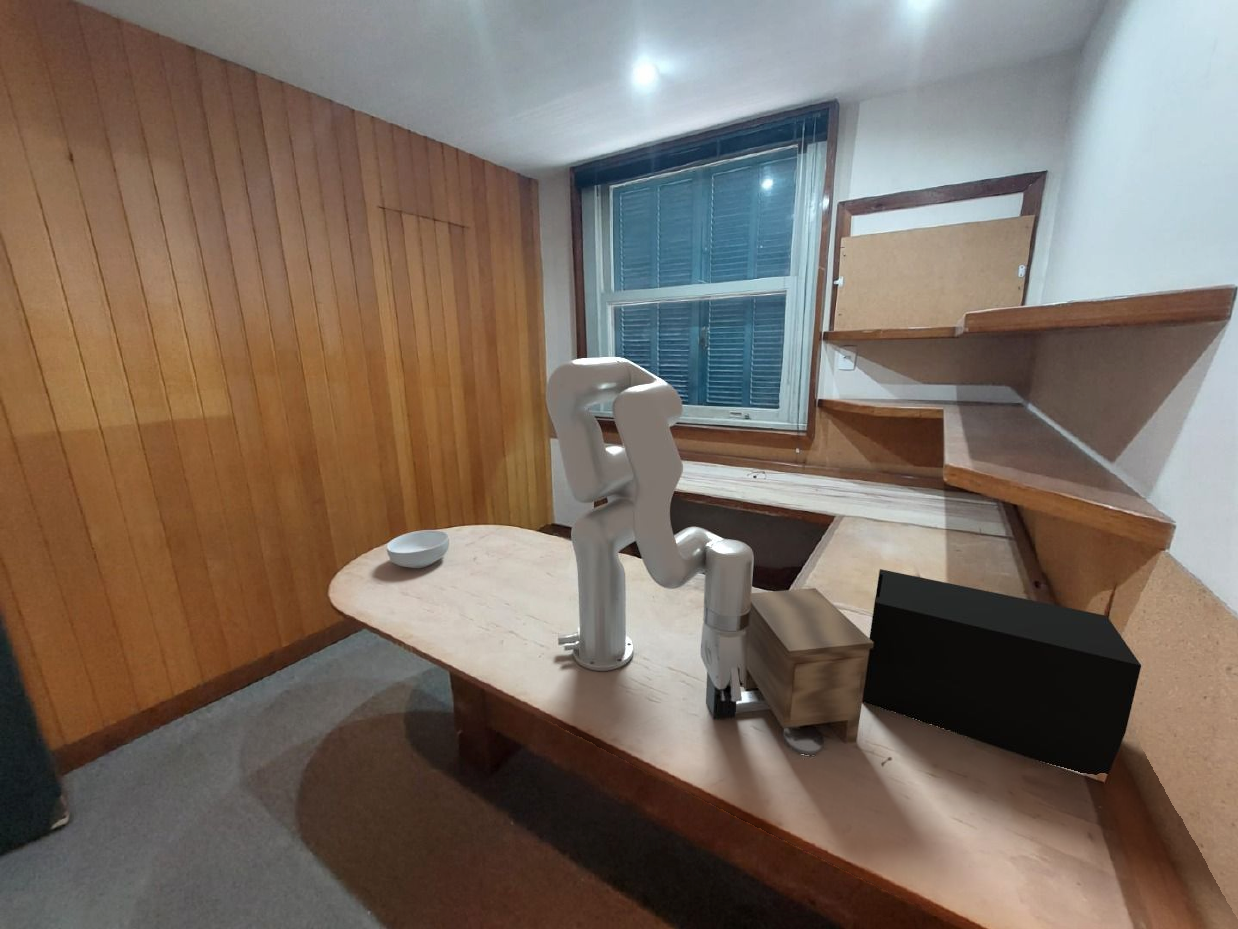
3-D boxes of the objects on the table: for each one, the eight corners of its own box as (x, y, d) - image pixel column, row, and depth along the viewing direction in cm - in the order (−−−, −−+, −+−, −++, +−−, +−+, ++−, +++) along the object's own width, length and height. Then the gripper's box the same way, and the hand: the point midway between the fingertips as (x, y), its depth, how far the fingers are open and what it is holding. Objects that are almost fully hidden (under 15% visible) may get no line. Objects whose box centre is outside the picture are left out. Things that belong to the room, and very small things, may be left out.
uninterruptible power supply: (867, 655, 98) (880, 566, 93) (1088, 719, 81) (1118, 614, 76) (859, 706, 84) (874, 605, 79) (1123, 795, 68) (1162, 675, 62)
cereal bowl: (439, 545, 152) (437, 525, 151) (459, 563, 140) (457, 541, 138) (382, 561, 142) (379, 539, 140) (398, 582, 130) (395, 558, 128)
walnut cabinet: (779, 753, 75) (789, 651, 70) (739, 681, 91) (744, 593, 86) (859, 743, 77) (873, 642, 72) (806, 673, 92) (815, 588, 88)
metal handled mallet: (713, 719, 82) (714, 684, 80) (705, 702, 85) (707, 668, 84) (800, 709, 84) (804, 675, 82) (789, 693, 88) (793, 660, 86)
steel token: (813, 763, 73) (815, 755, 73) (776, 741, 77) (777, 733, 77) (827, 741, 77) (829, 733, 77) (791, 721, 81) (793, 713, 81)
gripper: (690, 590, 87) (687, 676, 91) (721, 646, 71) (716, 747, 75) (730, 587, 88) (725, 672, 92) (769, 642, 71) (761, 742, 76)
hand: (721, 705), depth 84 cm, fingers closed on metal handled mallet, 4 cm apart
